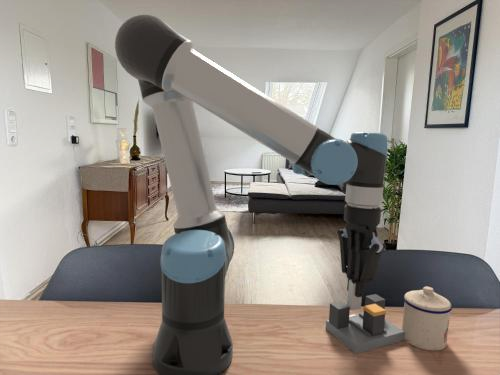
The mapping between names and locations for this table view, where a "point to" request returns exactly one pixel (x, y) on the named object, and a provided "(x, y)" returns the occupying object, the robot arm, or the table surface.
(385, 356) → the table surface
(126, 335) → the table surface
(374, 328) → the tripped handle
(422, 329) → the teacup with lid
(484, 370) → the table surface
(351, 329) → the panel
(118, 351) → the table surface
